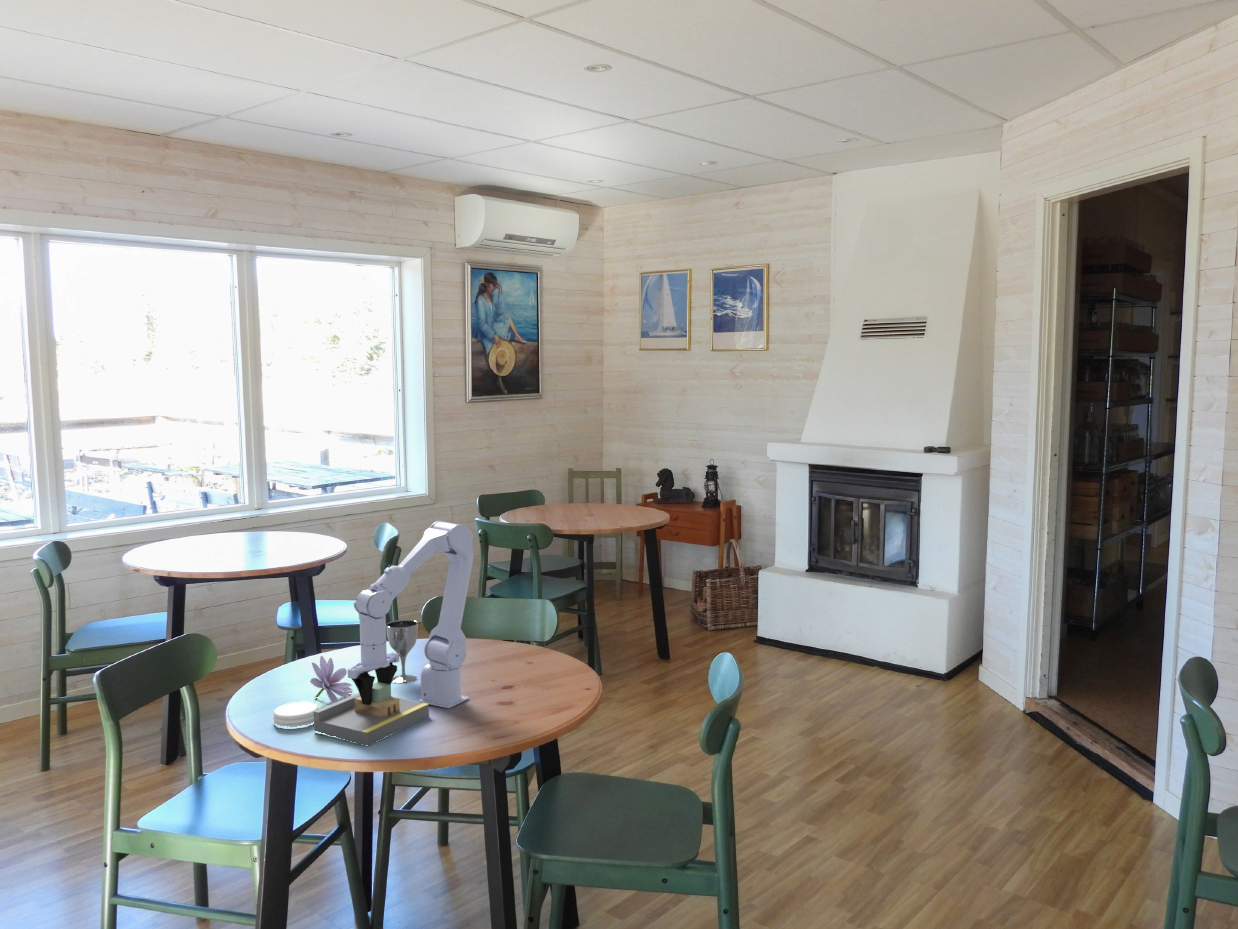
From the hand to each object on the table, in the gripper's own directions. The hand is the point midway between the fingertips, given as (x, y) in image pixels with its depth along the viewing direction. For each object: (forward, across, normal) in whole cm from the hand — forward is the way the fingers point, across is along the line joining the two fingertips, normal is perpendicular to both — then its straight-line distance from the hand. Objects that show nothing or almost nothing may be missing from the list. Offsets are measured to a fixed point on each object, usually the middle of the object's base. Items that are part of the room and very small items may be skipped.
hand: (375, 700), depth 215 cm
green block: (-1, 0, -1) cm, 1 cm away
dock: (+5, -1, 0) cm, 5 cm away
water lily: (+6, +6, +20) cm, 22 cm away
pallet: (+2, 0, 0) cm, 2 cm away
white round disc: (+6, -8, +17) cm, 20 cm away
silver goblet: (+6, +27, +16) cm, 32 cm away
